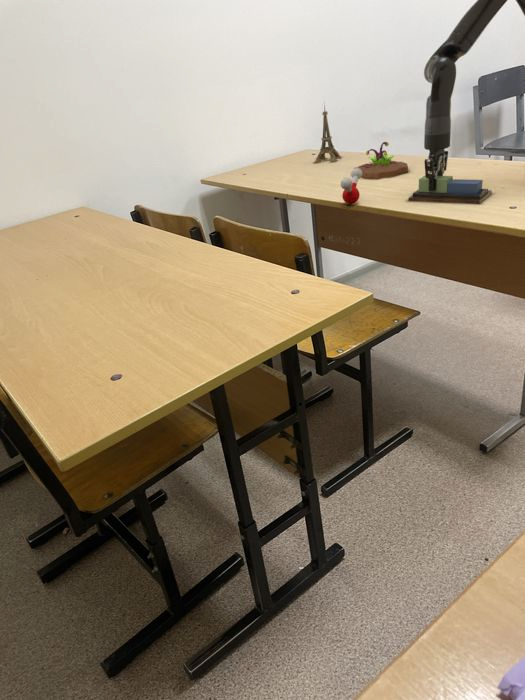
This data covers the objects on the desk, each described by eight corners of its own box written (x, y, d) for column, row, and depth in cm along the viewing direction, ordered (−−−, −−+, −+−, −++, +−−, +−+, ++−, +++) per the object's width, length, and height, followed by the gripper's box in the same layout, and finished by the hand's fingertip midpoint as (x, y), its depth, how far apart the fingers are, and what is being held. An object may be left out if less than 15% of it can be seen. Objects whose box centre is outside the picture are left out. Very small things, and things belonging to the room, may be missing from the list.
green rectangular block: (452, 188, 167) (452, 175, 165) (446, 192, 164) (447, 179, 162) (424, 188, 172) (424, 175, 170) (418, 192, 169) (418, 179, 167)
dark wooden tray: (491, 193, 164) (492, 187, 163) (479, 204, 156) (479, 197, 155) (422, 191, 177) (422, 185, 176) (408, 201, 169) (408, 194, 168)
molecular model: (357, 210, 166) (356, 178, 161) (338, 211, 168) (337, 179, 163) (363, 196, 181) (362, 166, 176) (346, 197, 182) (345, 167, 178)
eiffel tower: (341, 157, 249) (338, 99, 236) (336, 162, 240) (332, 101, 228) (320, 158, 253) (316, 101, 240) (313, 163, 244) (309, 104, 232)
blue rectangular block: (481, 193, 163) (482, 179, 161) (476, 197, 159) (477, 183, 157) (452, 192, 168) (453, 179, 166) (446, 196, 164) (447, 183, 162)
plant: (417, 171, 203) (418, 140, 198) (372, 181, 199) (371, 149, 193) (390, 164, 220) (390, 136, 215) (348, 173, 216) (346, 144, 210)
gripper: (441, 135, 153) (439, 195, 161) (458, 127, 162) (455, 183, 171) (416, 136, 157) (415, 194, 165) (434, 127, 167) (432, 183, 175)
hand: (435, 188), depth 168 cm, fingers closed on green rectangular block, 5 cm apart
